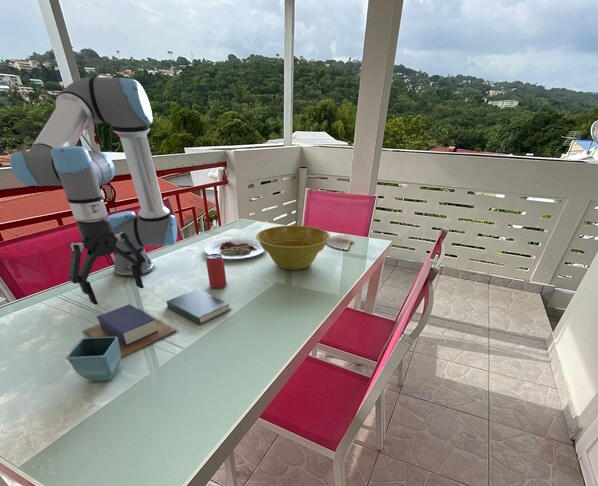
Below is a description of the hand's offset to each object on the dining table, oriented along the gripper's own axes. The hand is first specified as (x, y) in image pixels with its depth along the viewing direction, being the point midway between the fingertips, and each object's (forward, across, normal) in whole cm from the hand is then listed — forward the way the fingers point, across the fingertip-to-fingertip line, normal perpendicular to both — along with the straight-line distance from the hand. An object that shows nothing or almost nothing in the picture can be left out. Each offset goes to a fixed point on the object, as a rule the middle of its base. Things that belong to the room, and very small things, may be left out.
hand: (118, 294), depth 96 cm
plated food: (+14, +72, +31) cm, 79 cm away
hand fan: (+14, +118, 0) cm, 119 cm away
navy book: (+12, 0, 0) cm, 12 cm away
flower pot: (+12, -15, -15) cm, 25 cm away
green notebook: (+13, +23, -4) cm, 26 cm away
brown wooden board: (+12, 0, 0) cm, 12 cm away
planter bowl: (+13, +77, -2) cm, 78 cm away
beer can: (+13, +40, +6) cm, 42 cm away
